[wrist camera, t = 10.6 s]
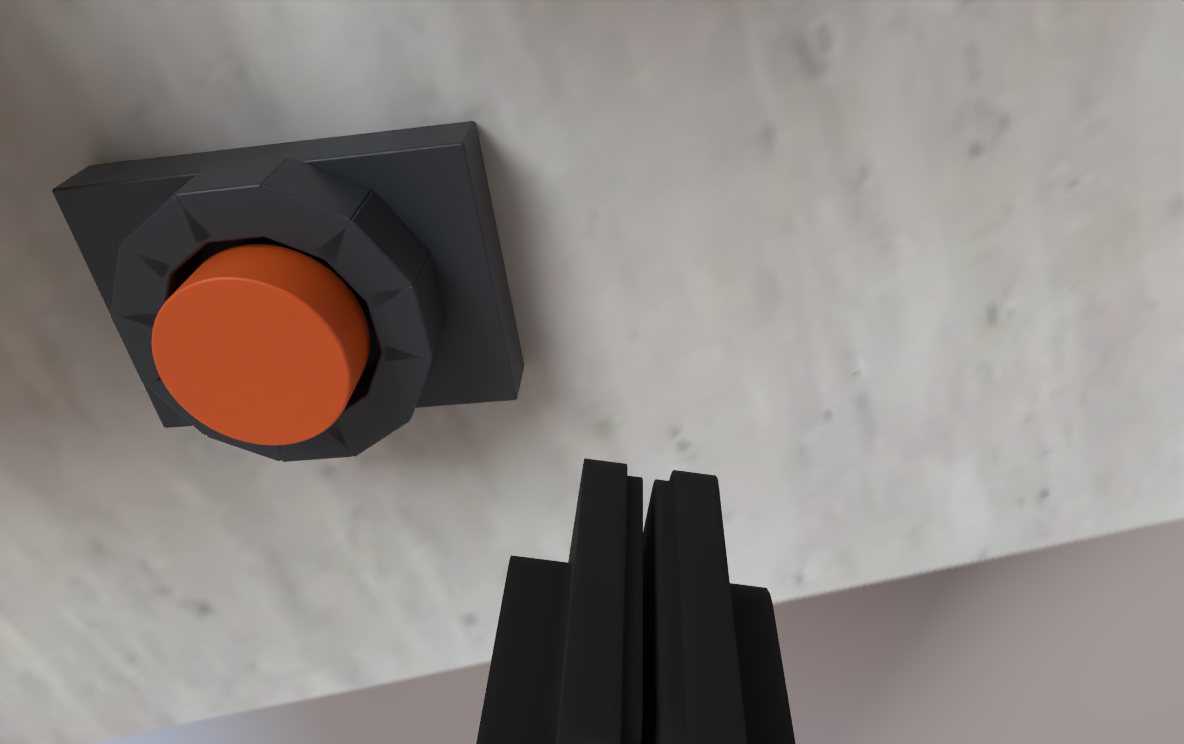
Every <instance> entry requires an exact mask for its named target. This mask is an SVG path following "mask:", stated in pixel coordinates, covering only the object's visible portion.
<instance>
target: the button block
mask: <svg viewBox="0 0 1184 744" xmlns="http://www.w3.org/2000/svg"><path fill="white" fill-rule="evenodd" d="M52 191H53V194H54V196H55V198H56V200H57V202H58V204H59V206H60V209H61V211H62V213H63V215H64V217H65V219H66V221H67V223H68V225H69V228H70V230H71V232H72V234H73V236H74V238H75V240H76V242H77V244H78V247H79V249H80V251H81V253H82V255H83V257H84V259H85V261H86V263H87V266H88V268H89V270H90V272H91V274H92V276H93V278H94V280H95V282H96V285H97V287H98V289H99V291H100V293H101V295H102V297H103V299H104V302H105V304H106V306H107V308H108V310H109V312H110V314H111V317H112V319H113V321H114V324H115V326H116V328H117V330H118V332H119V334H120V336H121V338H122V340H123V343H124V345H125V347H126V349H127V351H128V353H129V355H130V357H131V359H132V362H133V364H134V366H135V368H136V370H137V372H138V374H139V376H140V378H141V381H142V382H143V384H144V386H145V388H146V390H147V392H148V394H149V397H150V399H151V401H152V403H153V405H154V407H155V409H156V411H157V414H158V416H159V418H160V420H161V422H162V424H163V426H164V427H165V428H169V427H182V426H194V427H195V428H197V429H198V430H199V431H200V432H201V433H203V434H204V435H207V436H208V437H209V438H212V439H215V440H218V441H221V442H224V443H227V444H230V445H233V446H236V447H239V448H242V449H245V450H248V451H251V452H253V453H256V454H259V455H262V456H265V457H268V458H271V459H274V460H277V461H281V460H282V461H284V462H286V461H300V460H313V459H327V458H340V457H351V456H357V455H358V454H360V453H361V452H363V451H364V450H366V449H368V448H369V447H371V446H372V445H374V444H375V443H377V442H378V441H380V440H381V439H383V438H384V437H386V436H387V435H389V434H390V433H392V432H393V431H395V430H397V429H398V428H400V427H401V426H403V425H404V424H406V423H407V422H409V420H410V419H411V418H412V415H413V412H414V410H415V408H419V407H431V406H444V405H456V404H469V403H481V402H494V401H506V400H516V399H517V397H518V392H519V387H520V383H521V378H522V373H523V369H524V363H523V358H522V353H521V348H520V343H519V338H518V333H517V328H516V323H515V318H514V313H513V308H512V303H511V298H510V293H509V288H508V283H507V278H506V273H505V268H504V263H503V258H502V253H501V248H500V243H499V238H498V233H497V228H496V223H495V218H494V213H493V208H492V203H491V197H490V192H489V187H488V182H487V177H486V172H485V167H484V162H483V157H482V152H481V147H480V142H479V137H478V132H477V127H476V123H475V122H473V121H470V122H461V123H453V124H444V125H436V126H427V127H418V128H410V129H401V130H392V131H384V132H375V133H367V134H358V135H349V136H341V137H332V138H323V139H315V140H306V141H298V142H289V143H280V144H272V145H263V146H254V147H246V148H237V149H228V150H220V151H211V152H203V153H194V154H185V155H177V156H168V157H159V158H151V159H142V160H134V161H125V162H116V163H108V164H99V165H90V166H88V167H86V168H85V169H83V170H82V171H80V172H79V173H77V174H75V175H74V176H72V177H71V178H69V179H68V180H66V181H65V182H63V183H62V184H60V185H58V186H57V187H55V188H54V189H53V190H52ZM246 244H267V245H275V246H280V247H285V248H288V249H292V250H295V251H298V252H300V253H302V254H305V255H307V256H309V257H311V258H313V259H315V260H316V261H318V262H320V263H322V264H323V265H324V266H326V267H327V268H328V269H330V270H331V271H332V272H334V273H335V274H336V275H337V276H338V277H339V278H340V279H341V280H342V281H343V282H344V283H345V284H346V285H347V286H348V288H349V289H350V290H351V291H352V293H353V294H354V296H355V297H356V298H357V300H358V302H359V304H360V306H361V308H362V310H363V312H364V315H365V317H366V320H367V324H368V328H369V334H370V352H369V357H368V361H367V364H366V366H365V368H364V371H363V373H362V375H361V377H360V379H359V381H358V383H357V385H356V387H355V389H354V391H353V393H352V395H351V397H350V399H349V401H348V403H347V405H346V407H345V409H344V411H343V412H342V414H341V415H340V417H339V418H338V419H337V420H336V421H335V422H334V424H333V425H331V426H330V427H329V428H328V429H326V430H325V431H324V432H322V433H320V434H319V435H317V436H315V437H313V438H310V439H308V440H305V441H302V442H298V443H294V444H288V445H259V444H253V443H248V442H244V441H240V440H237V439H233V438H231V437H228V436H226V435H223V434H221V433H219V432H217V431H215V430H213V429H211V428H209V427H208V426H206V425H205V424H203V423H201V422H200V421H198V420H197V419H196V418H194V417H193V416H192V415H191V414H189V413H188V412H187V411H186V410H185V409H184V408H183V407H182V406H181V405H180V404H179V403H178V402H177V401H176V400H175V399H174V397H173V396H172V395H171V394H170V392H169V391H168V389H167V388H166V386H165V385H164V383H163V381H162V379H161V377H160V376H159V373H158V371H157V368H156V365H155V362H154V358H153V353H152V330H153V326H154V322H155V319H156V317H157V314H158V312H159V310H160V309H161V307H162V306H163V304H164V303H165V302H166V300H167V299H168V298H169V297H170V296H171V295H172V294H173V293H174V292H175V291H176V290H177V289H178V288H179V287H180V286H181V285H182V284H183V283H184V282H185V281H186V280H187V279H188V278H189V277H190V276H191V275H192V274H193V273H194V272H195V271H196V269H197V268H198V267H199V266H200V265H201V264H202V263H203V262H204V261H206V260H207V259H209V258H210V257H211V256H213V255H214V254H217V253H219V252H221V251H223V250H225V249H228V248H232V247H235V246H241V245H246Z"/></svg>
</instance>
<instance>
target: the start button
mask: <svg viewBox="0 0 1184 744" xmlns="http://www.w3.org/2000/svg"><path fill="white" fill-rule="evenodd" d="M369 352H370V334H369V328H368V324H367V320H366V317H365V315H364V312H363V310H362V308H361V306H360V304H359V302H358V300H357V298H356V297H355V296H354V294H353V293H352V291H351V290H350V289H349V288H348V286H347V285H346V284H345V283H344V282H343V281H342V280H341V279H340V278H339V277H338V276H337V275H336V274H335V273H334V272H332V271H331V270H330V269H328V268H327V267H326V266H324V265H323V264H322V263H320V262H318V261H316V260H315V259H313V258H311V257H309V256H307V255H305V254H302V253H300V252H298V251H295V250H292V249H288V248H285V247H280V246H275V245H267V244H246V245H241V246H235V247H232V248H228V249H225V250H223V251H221V252H219V253H217V254H214V255H213V256H211V257H210V258H209V259H207V260H206V261H204V262H203V263H202V264H201V265H200V266H199V267H198V268H197V269H196V271H195V272H194V273H193V274H192V275H191V276H190V277H189V278H188V279H187V280H186V281H185V282H184V283H183V284H182V285H181V286H180V287H179V288H178V289H177V290H176V291H175V292H174V293H173V294H172V295H171V296H170V297H169V298H168V299H167V300H166V302H165V303H164V304H163V306H162V307H161V309H160V310H159V312H158V314H157V317H156V319H155V322H154V326H153V330H152V353H153V358H154V362H155V365H156V368H157V371H158V373H159V376H160V377H161V379H162V381H163V383H164V385H165V386H166V388H167V389H168V391H169V392H170V394H171V395H172V396H173V397H174V399H175V400H176V401H177V402H178V403H179V404H180V405H181V406H182V407H183V408H184V409H185V410H186V411H187V412H188V413H189V414H191V415H192V416H193V417H194V418H196V419H197V420H198V421H200V422H201V423H203V424H205V425H206V426H208V427H209V428H211V429H213V430H215V431H217V432H219V433H221V434H223V435H226V436H228V437H231V438H233V439H237V440H240V441H244V442H248V443H253V444H259V445H288V444H294V443H298V442H302V441H305V440H308V439H310V438H313V437H315V436H317V435H319V434H320V433H322V432H324V431H325V430H326V429H328V428H329V427H330V426H331V425H333V424H334V422H335V421H336V420H337V419H338V418H339V417H340V415H341V414H342V412H343V411H344V409H345V407H346V405H347V403H348V401H349V399H350V397H351V395H352V393H353V391H354V389H355V387H356V385H357V383H358V381H359V379H360V377H361V375H362V373H363V371H364V368H365V366H366V364H367V361H368V357H369Z"/></svg>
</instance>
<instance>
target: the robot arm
mask: <svg viewBox="0 0 1184 744" xmlns="http://www.w3.org/2000/svg"><path fill="white" fill-rule="evenodd" d="M477 744H795V738H794V733H793V726H792V720H791V714H790V708H789V703H788V696H787V689H786V684H785V677H784V671H783V665H782V659H781V653H780V647H779V641H778V634H777V628H776V623H775V616H774V610H773V604H772V600H771V596H770V593H769V591H768V590H767V588H762V587H754V586H747V585H739V584H731V583H729V574H728V565H727V556H726V547H725V538H724V529H723V520H722V511H721V502H720V493H719V485H718V479H717V477H716V476H715V475H707V474H699V473H692V472H684V471H676V470H673V471H672V474H671V476H670V480H669V481H664V480H657V479H656V480H655V481H654V484H653V488H652V493H651V498H650V502H649V507H648V512H647V517H646V521H645V526H644V531H643V479H642V478H641V477H633V476H627V464H623V463H615V462H607V461H600V460H592V459H584V464H583V470H582V476H581V483H580V489H579V496H578V502H577V509H576V516H575V522H574V529H573V535H572V542H571V548H570V555H569V562H568V563H566V562H558V561H550V560H542V559H534V558H527V557H519V556H511V557H510V561H509V566H508V571H507V577H506V582H505V588H504V594H503V599H502V605H501V610H500V616H499V621H498V627H497V632H496V638H495V643H494V649H493V655H492V660H491V666H490V672H489V677H488V683H487V688H486V693H485V699H484V705H483V710H482V716H481V721H480V727H479V732H478V738H477Z"/></svg>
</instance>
